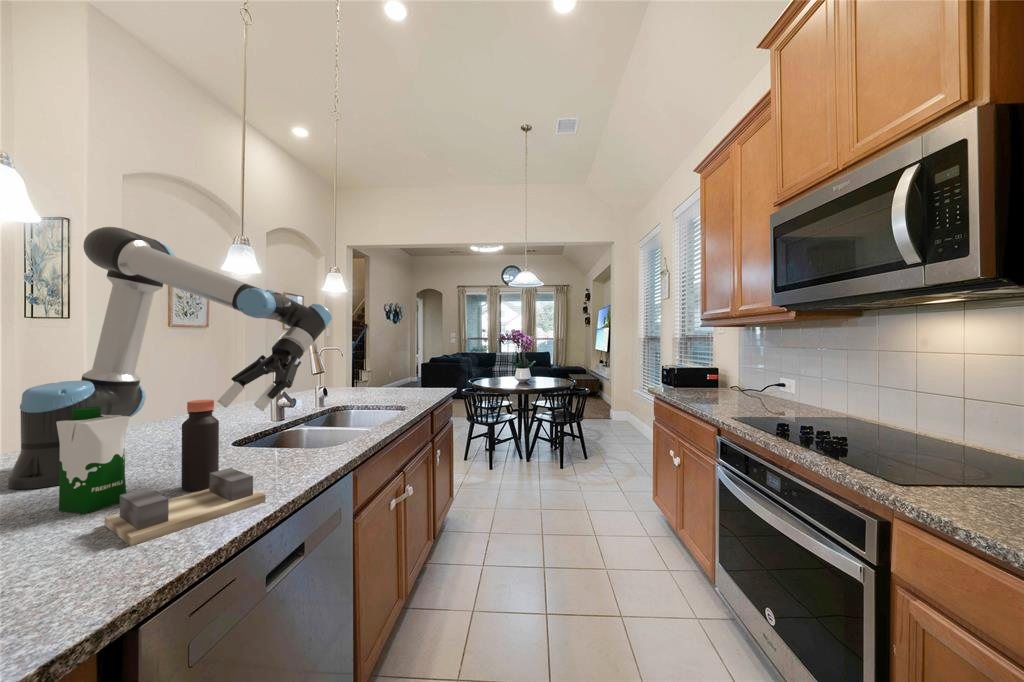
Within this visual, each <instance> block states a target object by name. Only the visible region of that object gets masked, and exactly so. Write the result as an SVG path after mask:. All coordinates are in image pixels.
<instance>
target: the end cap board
mask: <svg viewBox="0 0 1024 682" xmlns="http://www.w3.org/2000/svg"><path fill="white" fill-rule="evenodd" d="M265 501H266V494H265V493H263V492H260V491H257V490H255V489H254V475H251V474H249V473H245V472H243V471H241V470H238V469H236V468H233V467H229V468H224V469H221V470H219V471H216V472H212V473H210V481H209V488H208V489H204V490H199V491H194V492H191V493H188V494H184V495H181V496H177V497H173V498H170V499H169V498H167V497H165V496H164V495H162V494H160V493H159V492H156V491H154V490H153V489H152V488H149V487H147V488H143V489H142V488H141V489H139V490H134V491H130V492H126V494H121V495H120V502H119V513H118V512H117V513H114V514H111V515H107V516H104V526H105V527H106V528H108V529H109V530H110V531H111V532H112V531H113V532H112V533H114V534H115V535H116V534H117V535H118V536H117V535H116V536H117V537H119V538H120V539H121V540H122V539H123V540H122V541H124V542H125V543H126V544H127V543H128V544H129V547H132V546H136V545H138V543H139V544H142V543H145V542H148V541H150V540H155V539H157V538H160V537H163V536H166V535H168V534H172V533H175V532H177V531H181V530H184V529H187V528H191V527H194V526H195V525H199V524H202V523H205V522H209V521H211V520H215V519H217V518H221V517H223V516H226V515H230V514H233V513H236V512H239V511H242V510H244V509H247V508H251V507H254V506H256V505H260V504H262V503H263V504H264V503H265ZM266 502H267V501H266ZM128 544H127V545H128ZM135 544H136V545H135Z"/></svg>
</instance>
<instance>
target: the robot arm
mask: <svg viewBox="0 0 1024 682" xmlns="http://www.w3.org/2000/svg"><path fill="white" fill-rule="evenodd" d="M82 245H83V246H82V247H83V252H84V253H85V256H86V257H87V258H88V260H89V261H91V263H93V264H94V265H95V266H97V267H100V268H101V269H102V270H103V269H104V270H107V274H106V279H107V280H108V281H109V282H110V283H111V284H112V286H111V290H110V294H109V297H108V298H109V299H108V303H107V305H106V306H107V307H106V311H105V316H104V318H103V319H104V320H103V322H102V326H101V331H100V335H99V338H98V344H97V348H96V351H95V356H94V359H93V360H94V361H93V365H92V368H91V369H90V370H88V371H86V372H84V373H83V374H82V376H81V379H80V380H67V381H66V380H65V381H59V382H49V383H44V384H38V385H35V386H32V387H29V388H27V389H25V391H23V392H22V395H21V403H20V405H19V409H20V453H19V455H18V457H17V460H16V461H15V464H14V466H13V468H12V469H11V471H10V474H9V475H8V488H10V489H11V490H12V489H13V490H29V489H30V490H31V489H42V488H47V487H55V486H59V479H60V442H59V435H58V429H57V423H56V422H57V421H64V420H68V419H72V410H73V409H77V408H85V407H101V415H121V416H129V417H130V418H131V417H133V416H135V415H137V414H138V412H139V411H141V410H142V408H143V406H144V405H145V403H146V391H145V390H144V389H143V386H142V385H141V384H140V383H141V379H142V378H141V377H140V376H139V375H138V374H137V373H136V369H137V365H138V361H139V357H140V353H141V348H142V343H143V341H144V336H145V332H146V327H147V323H148V320H149V316H150V311H151V306H152V303H153V298H154V295H155V292H158V291H159V290H162V289H163V287H164V285H166V286H169V287H172V288H175V289H178V290H180V291H184V292H186V293H188V294H192V295H194V296H197V297H200V298H202V299H205V300H208V301H211V302H213V303H217V304H220V305H222V306H225V307H228V308H230V309H233V310H236V311H239V312H240V313H242V314H244V315H246V316H248V317H251V318H255V319H267V320H274V321H277V322H280V323H282V324H284V325H285V326H288V327H289V328H288V329H287V330H286V332H285V333H284V334H283V335H282V336H281V337H280V339H278V340H277V342H275V343H274V344H273V346H272V347H271V353H272V354H271V355H269V356H268V357H266V356H265V355H264V354H262V355H261V356H259V357H258V358H257V359H256V360H255V361H254V362H252V363H251V364H249V365H248V366H247V367H245V368H244V369H242V370H241V371H240V372H238V373H237V374H235V375H233V377H231V381H233V383H232V385H231V386H230V387H229V388H227V390H226V391H225V392H224V394H222V396H220V398H219V399H217V403H219V404H220V405H221V406H223V408H228V407H229V406H230V405H231V404H232V403H233V402H234V400H235V399H236V398H237V397H238V396H239V395H240V393H242V391H244V390H245V386H246V385H248V384H251V382H253V381H256V380H257V379H259V378H260V377H262V376H264V375H269V374H272V373H275V374H274V376H275V377H274V381H272V383H270V385H269V386H268V387H267V388H266V390H264V392H263V393H262V394H261V395H260V396H259V398H258V399H257V400H256V401H255V403H254V404H253V405H254V406H255V407H256V408H257V409H259V411H261V412H264V411H265V410H266V408H267V407H268V406H269V405H270V404H271V402H272V401H273V400H274V399H275V398H276V397H277V396H278V395H279V393H280V392H281V391H283V390H284V389H285V388H287V389H290V388H291V387H292V386H293V383H294V380H295V377H296V374H297V371H298V368H299V367H300V365H301V364H302V362H301V360H300V359H301V358H302V357H303V356H304V353H306V352H307V350H309V349H310V347H311V346H312V344H313V343H314V342H315V341H316V339H317V338H318V337H319V336H320V335H321V334H322V333H323V332H324V331H325V330H326V329H327V327H328V325H329V324H330V322H332V313H331V311H330V310H329V309H328V308H327V307H325V306H324V305H322V304H319V303H318V304H317V303H312V304H311V305H309V306H306V305H303V304H300V303H298V302H297V301H295V300H293V299H291V298H289V297H287V296H285V295H283V294H282V293H280V292H278V291H275V290H272V289H266V290H265V289H262V288H259V287H257V286H254V285H251V284H248V283H246V282H244V281H241V280H238V279H235V278H233V277H230V276H227V275H224V274H222V273H219V272H217V271H214V270H211V269H208V268H206V267H204V266H201V265H198V264H195V263H192V262H190V261H187V260H184V259H182V258H179V257H177V256H176V255H175V253H174V251H172V249H171V248H170V247H169V246H167V244H165V243H162V242H160V241H158V240H157V239H154V238H151V237H148V236H145V235H142V234H138V233H136V232H133V231H131V230H128V229H125V228H121V227H115V226H103V227H99V228H96V229H94V230H92V231H91V232H89V233H88V234H87V235H86V237H85V238H84V240H83V244H82Z"/></svg>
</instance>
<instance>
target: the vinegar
mask: <svg viewBox="0 0 1024 682" xmlns="http://www.w3.org/2000/svg"><path fill="white" fill-rule="evenodd" d="M186 409H187V410H186V412H187V414H188V418H187V419H186V420H184V422H183V423H182V424H181V490H182V491H183V492H199V491H202V490H206V489H209V481H210V473H212V472H216V471H220V470H219V469H220V468H219V467H220V466H219V463H220V461H219V460H220V457H219V456H220V452H219V451H220V445H219V444H220V435H219V434H220V421H219V420H218V418H217V417H215V416H214V415H213V413H214V412H215V411H214V410H215V399H196V400H189V401H187V403H186Z"/></svg>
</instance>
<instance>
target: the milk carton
mask: <svg viewBox="0 0 1024 682" xmlns="http://www.w3.org/2000/svg"><path fill="white" fill-rule="evenodd" d="M130 418H131V417H129V416H121V415H101V407H85V408H77V409H73V410H72V419H68V420H64V421H57V422H56V423H57V429H58V435H59V442H60V479H59V485H58V486H59V487H58V492H59V493H58V494H59V495H58V512H65V511H67V513H73V512H76V514H82V513H84V514H83V515H87V514H89V512H90V513H92V512H95V511H97V510H101V509H104V508H107V507H110V506H113V505H116V504H118V503H119V504H120V495H121V494H126V493H127V483H126V434H127V430H128V426H129V422H130ZM86 513H87V514H86Z"/></svg>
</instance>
